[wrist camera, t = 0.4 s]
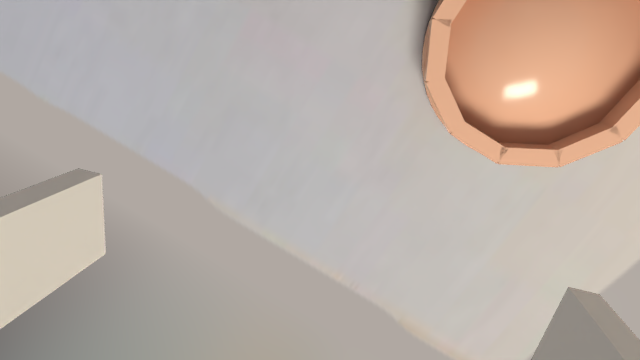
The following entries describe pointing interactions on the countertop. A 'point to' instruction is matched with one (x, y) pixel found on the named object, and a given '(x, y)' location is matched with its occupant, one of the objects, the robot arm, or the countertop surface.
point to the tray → (535, 76)
